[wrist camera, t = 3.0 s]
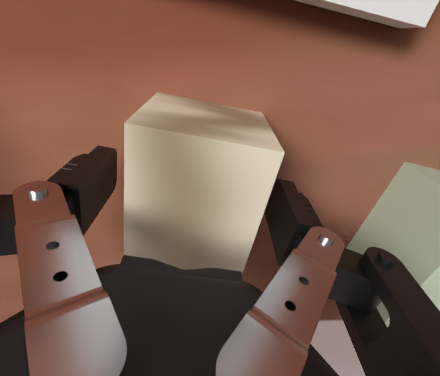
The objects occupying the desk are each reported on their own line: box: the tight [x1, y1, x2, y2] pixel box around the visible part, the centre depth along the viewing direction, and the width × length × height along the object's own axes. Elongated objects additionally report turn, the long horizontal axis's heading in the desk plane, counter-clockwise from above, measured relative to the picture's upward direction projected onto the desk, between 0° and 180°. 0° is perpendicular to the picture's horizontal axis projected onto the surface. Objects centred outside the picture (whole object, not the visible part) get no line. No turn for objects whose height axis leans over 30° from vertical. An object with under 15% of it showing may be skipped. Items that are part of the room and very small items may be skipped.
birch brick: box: [124, 92, 285, 274], centre depth 12 cm, size 5×7×5 cm
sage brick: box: [347, 162, 440, 326], centre depth 14 cm, size 5×7×5 cm
